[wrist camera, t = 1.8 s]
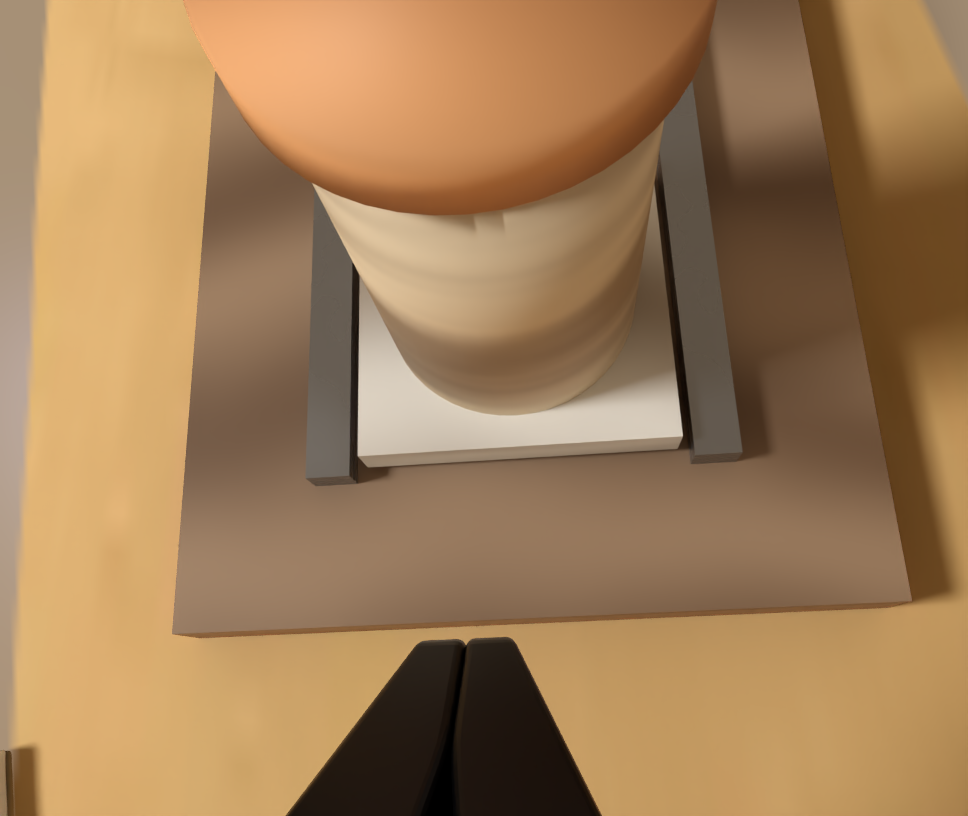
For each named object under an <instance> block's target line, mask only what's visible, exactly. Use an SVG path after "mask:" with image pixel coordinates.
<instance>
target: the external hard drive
mask: <svg viewBox="0 0 968 816" xmlns="http://www.w3.org/2000/svg"><path fill="white" fill-rule="evenodd" d="M11 800H12V754H11V751H4V750H1V751H0V816H11Z"/></svg>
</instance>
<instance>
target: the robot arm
mask: <svg viewBox="0 0 968 816" xmlns="http://www.w3.org/2000/svg"><path fill="white" fill-rule="evenodd" d="M286 816H602V815H601V813H600V811H599V809H598V807H597V805H596V803H595V801H594V799H593V797H592V795H591V793H590V791H589V789H588V787H587V785H586V783H585V781H584V779H583V777H582V775H581V773H580V771H579V769H578V767H577V765H576V763H575V761H574V759H573V757H572V755H571V753H570V751H569V749H568V747H567V745H566V743H565V741H564V739H563V737H562V735H561V733H560V731H559V729H558V727H557V725H556V723H555V721H554V719H553V717H552V715H551V713H550V711H549V709H548V707H547V705H546V703H545V701H544V699H543V697H542V695H541V693H540V691H539V689H538V687H537V685H536V683H535V681H534V679H533V677H532V675H531V673H530V671H529V669H528V667H527V665H526V663H525V661H524V659H523V657H522V655H521V653H520V651H519V649H518V647H517V645H516V643H515V642H514V641H513V639H511V638H509V637H497V638H475V639H471V640H470V641H469V642H468V643H467V645H465V643H464V642H463V641H461V640H459V639H451V640H428V641H422V642H420V643H419V644H417V645H416V646H415V647H414V649H413V650H412V651H411V653H410V654H409V655H408V656H407V658H406V659H405V660H404V662H403V663H402V664H401V666H400V667H399V668H398V670H397V671H396V672H395V673H394V675H393V676H392V677H391V679H390V680H389V681H388V683H387V684H386V685H385V687H384V688H383V689H382V690H381V692H380V693H379V694H378V696H377V697H376V698H375V700H374V701H373V702H372V704H371V705H370V706H369V707H368V709H367V710H366V711H365V713H364V714H363V715H362V717H361V718H360V719H359V721H358V722H357V723H356V724H355V726H354V727H353V728H352V730H351V731H350V732H349V734H348V735H347V736H346V738H345V739H344V740H343V741H342V743H341V744H340V745H339V747H338V748H337V749H336V751H335V752H334V753H333V755H332V756H331V757H330V758H329V760H328V761H327V762H326V764H325V765H324V766H323V768H322V769H321V770H320V772H319V773H318V774H317V775H316V777H315V778H314V779H313V781H312V782H311V783H310V785H309V786H308V787H307V789H306V790H305V791H304V792H303V794H302V795H301V796H300V798H299V799H298V800H297V802H296V803H295V804H294V806H293V807H292V808H291V809H290V811H289V812H288V813H287V815H286Z"/></svg>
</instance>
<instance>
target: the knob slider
mask: <svg viewBox="0 0 968 816" xmlns="http://www.w3.org/2000/svg"><path fill="white" fill-rule="evenodd" d="M183 1H184V5H185V8H186V11H187V14H188V17H189V20H190V23H191V26H192V29H193V31H194V33H195V35H196V36H197V38H198V40H199V42H200V44H201V46H202V48H203V50H204V51H205V53H206V55H207V57H208V59H209V60H210V62H211V64H212V65H213V67H214V69H215V71H216V72H217V74H218V76H219V78H220V79H221V81H222V83H223V84H224V86H225V88H226V90H227V91H228V93H229V95H230V96H231V98H232V100H233V102H234V103H235V105H236V107H237V109H238V110H239V112H240V114H241V115H242V117H243V119H244V121H245V122H246V123H247V125H248V126H249V127H250V129H251V130H252V131H253V133H254V134H255V135H256V136H257V138H258V139H259V140H260V142H261V143H262V144H263V145H264V146H265V147H266V148H267V149H268V150H269V151H270V152H271V153H272V154H273V155H275V156H276V157H277V158H278V159H279V160H280V161H281V162H282V163H283V164H285V165H286V166H287V167H289V168H290V169H292V170H293V171H294V172H296V173H297V174H299V175H300V176H302V177H303V178H304V179H306V180H307V181H309V182H311V183H312V184H313V186H314V188H315V190H316V192H317V194H318V196H319V198H320V200H321V202H322V203H323V205H324V207H325V209H326V211H327V213H328V215H329V217H330V219H331V221H332V223H333V225H334V227H335V229H336V230H337V232H338V234H339V236H340V238H341V240H342V242H343V244H344V246H345V248H346V250H347V252H348V254H349V256H350V258H351V259H352V261H353V263H354V265H355V267H356V269H357V271H358V273H359V275H360V294H359V381H358V457H359V458H360V459H361V460H362V462H363V463H364V464H365V465H366V466H367V467H368V468H369V467H385V466H402V465H418V464H435V463H452V462H468V461H485V460H501V459H518V458H535V457H551V456H568V455H584V454H601V453H617V452H634V451H651V450H667V449H678V447H679V444H680V442H681V440H682V437H683V433H682V424H681V415H680V406H679V397H678V389H677V380H676V371H675V362H674V353H673V344H672V336H671V327H670V318H669V309H668V300H667V291H666V283H665V274H664V265H663V256H662V247H661V238H660V230H659V221H658V212H657V203H656V194H655V186H654V182H655V175H656V169H657V163H658V156H659V150H660V143H661V137H662V131H663V124H664V119H665V117H666V116H667V115H668V114H669V113H670V112H671V110H672V109H673V108H674V107H675V106H676V105H677V103H678V101H679V100H680V98H681V97H682V95H683V94H684V92H685V90H686V89H687V87H688V86H689V84H690V83H691V81H692V79H693V78H694V75H695V73H696V71H697V69H698V66H699V64H700V62H701V60H702V57H703V55H704V53H705V50H706V47H707V43H708V39H709V35H710V32H711V28H712V24H713V19H714V15H715V10H716V5H717V0H183Z"/></svg>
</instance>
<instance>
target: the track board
mask: <svg viewBox="0 0 968 816" xmlns="http://www.w3.org/2000/svg"><path fill="white" fill-rule="evenodd" d="M692 82H693V89H694V97H695V104H696V111H697V119H698V126H699V134H700V141H701V148H702V156H703V163H704V170H705V178H706V185H707V193H708V200H709V207H710V215H711V222H712V230H713V237H714V244H715V252H716V259H717V266H718V274H719V281H720V289H721V296H722V303H723V311H724V318H725V326H726V333H727V340H728V348H729V355H730V362H731V370H732V377H733V385H734V392H735V399H736V407H737V414H738V422H739V429H740V436H741V444H742V451H743V452H742V454H741V455H740V457H739V458H738V460H737V461H736V462H722V463H705V464H691V463H690V455H689V446H688V437H687V429H686V420H685V411H684V403H683V394H682V385H681V376H680V368H679V359H678V350H677V342H676V333H675V324H674V316H673V307H672V298H671V290H670V281H669V272H668V263H667V255H666V246H665V237H664V229H663V220H662V211H661V203H660V194H659V185H658V176H657V169H656V175H655V182H654V186H655V194H656V203H657V212H658V221H659V230H660V238H661V247H662V256H663V265H664V274H665V283H666V291H667V300H668V309H669V318H670V327H671V336H672V344H673V353H674V362H675V371H676V380H677V389H678V397H679V406H680V415H681V424H682V433H683V437H682V440H681V442H680V444H679V447H678V449H667V450H651V451H634V452H617V453H601V454H584V455H568V456H551V457H535V458H518V459H501V460H485V461H468V462H452V463H435V464H418V465H402V466H385V467H369V468H368V467H367V466H366V465H365V464H364V463H363V462H362V460H361V459H360V458H359V457H358V484H347V485H330V486H314V485H313V484H312V483H311V482H309V481H308V480H307V479H306V478H305V475H306V443H307V411H308V379H309V347H310V314H311V282H312V250H313V218H314V186H313V184H312V183H311V182H309V181H307V180H306V179H304V178H303V177H302V176H300V175H299V174H297V173H296V172H294V171H293V170H292V169H290V168H289V167H287V166H286V165H285V164H283V163H282V162H281V161H280V160H279V159H278V158H277V157H276V156H275V155H273V154H272V153H271V152H270V151H269V150H268V149H267V148H266V147H265V146H264V145H263V144H262V143H261V142H260V140H259V139H258V138H257V136H256V135H255V134H254V133H253V131H252V130H251V129H250V127H249V126H248V125H247V123H246V122H245V121H244V119H243V117H242V115H241V114H240V112H239V110H238V109H237V107H236V105H235V103H234V102H233V100H232V98H231V96H230V95H229V93H228V91H227V90H226V88H225V86H224V84H223V83H222V81H221V79H220V78H219V76H218V74H217V72H216V71H215V83H214V96H213V109H212V122H211V135H210V148H209V161H208V174H207V187H206V200H205V213H204V226H203V239H202V252H201V265H200V278H199V291H198V304H197V317H196V330H195V343H194V356H193V369H192V382H191V395H190V408H189V421H188V434H187V447H186V460H185V473H184V486H183V499H182V512H181V525H180V538H179V551H178V564H177V577H176V590H175V603H174V616H173V629H172V634H175V635H182V636H189V637H196V638H212V637H234V636H257V635H280V634H302V633H325V632H348V631H370V630H393V629H416V628H438V627H461V626H484V625H506V624H529V623H552V622H574V621H597V620H620V619H642V618H665V617H688V616H710V615H733V614H756V613H778V612H801V611H824V610H846V609H869V608H888V607H892V606H896V605H899V604H903V603H907V602H911V601H912V597H911V592H910V587H909V582H908V576H907V571H906V566H905V560H904V555H903V550H902V545H901V539H900V534H899V529H898V524H897V518H896V513H895V508H894V502H893V497H892V492H891V487H890V481H889V476H888V471H887V465H886V460H885V455H884V450H883V444H882V439H881V434H880V428H879V423H878V418H877V413H876V407H875V402H874V397H873V391H872V386H871V381H870V376H869V370H868V365H867V360H866V354H865V349H864V344H863V339H862V333H861V328H860V323H859V318H858V312H857V307H856V302H855V296H854V291H853V286H852V281H851V275H850V270H849V265H848V259H847V254H846V249H845V244H844V238H843V233H842V228H841V222H840V217H839V212H838V207H837V201H836V196H835V191H834V185H833V180H832V175H831V170H830V164H829V159H828V154H827V149H826V143H825V138H824V133H823V127H822V122H821V117H820V112H819V106H818V101H817V96H816V90H815V85H814V80H813V75H812V69H811V64H810V59H809V53H808V48H807V43H806V38H805V32H804V27H803V22H802V16H801V11H800V6H799V1H798V0H717V5H716V10H715V15H714V19H713V24H712V28H711V32H710V35H709V39H708V43H707V47H706V50H705V53H704V55H703V57H702V60H701V62H700V64H699V66H698V69H697V71H696V73H695V75H694V78H693V79H692Z"/></svg>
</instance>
